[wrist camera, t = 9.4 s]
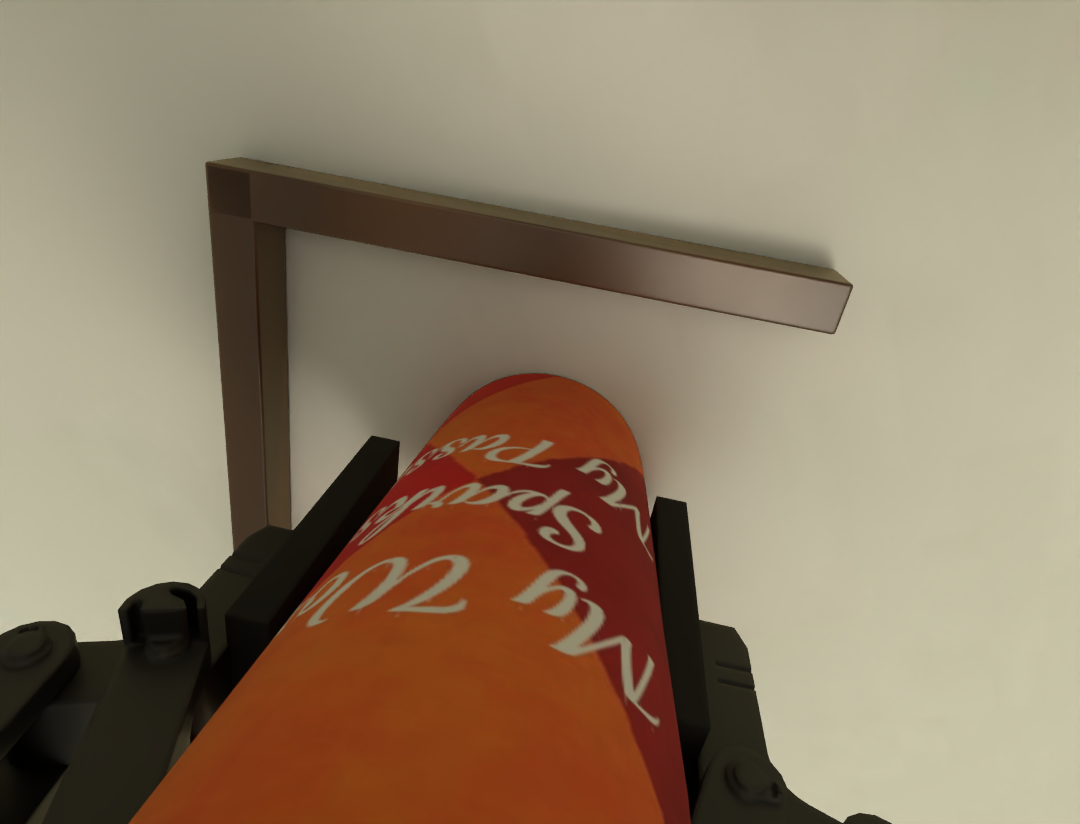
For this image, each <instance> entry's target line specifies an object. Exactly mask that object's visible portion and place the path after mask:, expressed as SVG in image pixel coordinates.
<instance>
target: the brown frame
mask: <svg viewBox="0 0 1080 824" xmlns="http://www.w3.org/2000/svg"><path fill="white" fill-rule="evenodd" d="M205 165H206V179H207V193H208V207H209V217H210V231H211V245H212V258H213V272H214V286H215V300H216V314H217V328H218V341H219V355H220V369H221V383H222V397H223V410H224V424H225V438H226V452H227V466H228V479H229V493H230V507H231V521H232V535H233V549H234V551H235V550H236V549H237V548H238V546H239V545H240V544H241V543H242V542H243V541H244V540H245V539H246V538H247V537H248V536H250V535H252V534H253V533H255V532H257V531H259V530H261V529H262V528H264V527H266V526H268V525H271V526H276V527H280V528H285V529H289V530H291V514H290V467H289V420H288V373H287V326H286V279H285V232H284V228H289V229H294V230H299V231H305V232H310V233H315V234H320V235H325V236H330V237H335V238H340V239H346V240H351V241H356V242H361V243H366V244H371V245H376V246H381V247H387V248H392V249H397V250H402V251H407V252H412V253H417V254H422V255H428V256H433V257H438V258H443V259H448V260H453V261H458V262H463V263H469V264H474V265H479V266H484V267H489V268H494V269H499V270H504V271H510V272H515V273H520V274H525V275H530V276H535V277H540V278H546V279H551V280H556V281H561V282H566V283H571V284H576V285H581V286H587V287H592V288H597V289H602V290H607V291H612V292H617V293H622V294H628V295H633V296H638V297H643V298H648V299H653V300H658V301H663V302H669V303H674V304H679V305H684V306H689V307H694V308H699V309H704V310H710V311H715V312H720V313H725V314H730V315H735V316H740V317H746V318H751V319H756V320H761V321H766V322H771V323H776V324H781V325H787V326H792V327H797V328H802V329H807V330H812V331H817V332H822V333H828V334H834V333H835V332H836V330H837V327H838V324H839V322H840V319H841V317H842V314H843V311H844V309H845V306H846V304H847V301H848V299H849V296H850V293H851V291H852V288H853V285H852V284H851V283H850V282H849V281H847V280H846V279H845V278H844V277H843V276H841V275H840V274H839V273H838V272H837V271H835V270H833V269H828V268H822V267H817V266H812V265H806V264H801V263H796V262H791V261H785V260H780V259H775V258H769V257H764V256H759V255H754V254H748V253H743V252H738V251H732V250H727V249H722V248H717V247H711V246H706V245H701V244H695V243H690V242H685V241H680V240H674V239H669V238H664V237H658V236H653V235H648V234H643V233H637V232H632V231H627V230H621V229H616V228H611V227H606V226H600V225H595V224H590V223H584V222H579V221H574V220H569V219H563V218H558V217H553V216H547V215H542V214H537V213H532V212H526V211H521V210H516V209H510V208H505V207H500V206H495V205H489V204H484V203H479V202H473V201H468V200H463V199H458V198H452V197H447V196H442V195H436V194H431V193H426V192H421V191H415V190H410V189H405V188H399V187H394V186H389V185H384V184H378V183H373V182H368V181H362V180H357V179H352V178H347V177H341V176H336V175H331V174H325V173H320V172H315V171H310V170H304V169H299V168H294V167H288V166H283V165H278V164H273V163H267V162H262V161H257V160H251V159H246V158H233V159H225V160H217V161H209V162H206V164H205Z"/></svg>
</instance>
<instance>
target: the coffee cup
mask: <svg viewBox="0 0 1080 824" xmlns="http://www.w3.org/2000/svg"><path fill="white" fill-rule="evenodd" d="M128 824H691V819H690V810H689V801H688V793H687V786H686V779H685V772H684V765H683V759H682V752H681V745H680V738H679V731H678V725H677V718H676V711H675V704H674V697H673V691H672V684H671V677H670V670H669V663H668V657H667V650H666V643H665V636H664V629H663V621H662V613H661V605H660V596H659V588H658V579H657V570H656V562H655V554H654V546H653V538H652V531H651V523H650V516H649V508H648V501H647V494H646V488H645V481H644V475H643V469H642V463H641V459H640V454H639V451H638V447H637V444H636V441H635V439H634V436H633V434H632V432H631V430H630V428H629V426H628V424H627V423H626V421H625V420H624V418H623V417H622V416H621V414H620V413H619V412H618V411H617V410H616V409H615V407H614V406H613V405H612V404H611V403H609V402H608V401H607V400H606V399H605V398H604V397H602V396H601V395H600V394H598V393H597V392H595V391H594V390H592V389H590V388H588V387H587V386H585V385H582V384H580V383H578V382H576V381H573V380H570V379H567V378H564V377H559V376H555V375H548V374H520V375H513V376H509V377H505V378H502V379H499V380H496V381H494V382H491V383H489V384H487V385H485V386H484V387H482V388H480V389H479V390H477V391H476V392H475V393H473V394H472V395H470V396H469V397H468V398H467V399H466V400H465V401H464V402H463V403H462V404H461V405H460V406H459V407H458V408H457V409H456V410H455V411H454V412H453V413H452V414H451V415H450V417H449V418H448V419H447V420H446V421H445V422H444V424H443V425H442V426H441V427H440V428H439V430H438V431H437V432H436V433H435V434H434V436H433V437H432V438H431V439H430V441H429V442H428V443H427V444H426V446H425V447H424V448H423V449H422V451H421V452H420V453H419V454H418V456H417V457H416V458H415V459H414V461H413V462H412V463H411V464H410V466H409V467H408V468H407V469H406V471H405V472H404V473H403V474H402V476H401V477H400V478H399V479H398V481H397V482H396V483H395V484H394V486H393V487H392V488H391V489H390V491H389V492H388V493H387V494H386V496H385V497H384V498H383V500H382V501H381V502H380V503H379V505H378V506H377V507H376V508H375V510H374V511H373V512H372V513H371V515H370V516H369V517H368V519H367V520H366V521H365V522H364V524H363V525H362V526H361V527H360V529H359V530H358V531H357V532H356V534H355V535H354V536H353V538H352V539H351V540H350V541H349V543H348V544H347V545H346V546H345V548H344V549H343V550H342V552H341V553H340V554H339V555H338V557H337V558H336V559H335V560H334V562H333V563H332V564H331V566H330V567H329V568H328V569H327V571H326V572H325V573H324V575H323V576H322V577H321V578H320V580H319V581H318V582H317V583H316V585H315V586H314V587H313V589H312V590H311V591H310V592H309V594H308V595H307V596H306V598H305V599H304V600H303V601H302V603H301V604H300V605H299V606H298V608H297V609H296V610H295V612H294V613H293V614H292V615H291V617H290V618H289V619H288V621H287V622H286V623H285V624H284V626H283V627H282V628H281V629H280V631H279V632H278V633H277V635H276V636H275V637H274V638H273V640H272V641H271V642H270V644H269V645H268V646H267V647H266V649H265V650H264V651H263V652H262V654H261V655H260V656H259V658H258V659H257V660H256V661H255V663H254V664H253V665H252V667H251V668H250V669H249V670H248V672H247V673H246V674H245V675H244V677H243V678H242V679H241V681H240V682H239V683H238V684H237V686H236V687H235V688H234V689H233V691H232V692H231V693H230V695H229V696H228V697H227V698H226V700H225V701H224V702H223V704H222V705H221V706H220V707H219V709H218V710H217V711H216V712H215V714H214V715H213V716H212V718H211V719H210V720H209V721H208V723H207V724H206V725H205V726H204V728H203V729H202V730H201V732H200V733H199V734H198V735H197V737H196V738H195V739H194V740H193V742H192V743H191V744H190V746H189V747H188V748H187V749H186V751H185V752H184V753H183V755H182V756H181V757H180V758H179V760H178V761H177V762H176V763H175V765H174V766H173V767H172V769H171V770H170V771H169V772H168V774H167V775H166V776H165V777H164V779H163V780H162V781H161V783H160V784H159V785H158V786H157V788H156V789H155V790H154V792H153V793H152V794H151V795H150V797H149V798H148V799H147V800H146V802H145V803H144V804H143V806H142V807H141V808H140V809H139V811H138V812H137V813H136V814H135V816H134V817H133V818H132V820H131V821H130V822H129V823H128Z"/></svg>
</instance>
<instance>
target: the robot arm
mask: <svg viewBox="0 0 1080 824" xmlns="http://www.w3.org/2000/svg"><path fill="white" fill-rule="evenodd" d="M399 447H400V441H396V440H391V439H386V438H382V437H377V436H371V437H370V438H369V439H368V441H367V442H366V443H365V444H364V445H363V447H362V448H361V449H360V450H359V452H358V453H357V454H356V455H355V456H354V458H353V459H352V460H351V461H350V462H349V464H348V465H347V466H346V467H345V469H344V470H343V471H342V472H341V473H340V475H339V476H338V477H337V478H336V480H335V481H334V482H333V483H332V484H331V486H330V487H329V488H328V489H327V490H326V492H325V493H324V494H323V495H322V497H321V498H320V499H319V500H318V501H317V503H316V504H315V505H314V506H313V507H312V509H311V510H310V511H309V512H308V514H307V515H306V516H305V517H304V518H303V520H302V521H301V522H300V523H299V524H298V526H297V527H296V528H295V529H294V530H289V529H285V528H280V527H276V526H271V525H268V526H266V527H264V528H262V529H261V530H259V531H257V532H255V533H253V534H252V535H250V536H248V537H247V538H246V539H245V540H244V541H243V542H242V543H241V544H240V545H239V546H238V548H237V549H236V550H235V551H234V552H233V554H232V556H229V557H228V558H227V560H226V561H225V562H224V563H223V564H222V565H221V568H220V569H217V570H216V572H215V573H214V574H213V575H212V576H211V577H210V578H209V579H208V580H207V581H206V582H205V584H204V585H203V586H202V587H201V588H200V589H199V588H197V587H195V586H193V585H191V584H189V583H181V582H168V583H160V584H155V585H153V586H150V587H147V588H144V589H142V590H140V591H138V592H137V593H135V594H134V595H132V596H131V597H129V598H128V599H126V601H125V602H124V603H123V604H122V605H121V607H120V608H119V609H118V614H119V619H120V624H121V630H122V635H123V640H118V641H98V642H77V640H76V636H75V633H74V632H73V631H72V629H71V628H70V627H69V626H68V625H65V624H62V623H59V622H56V621H38V622H34V623H29V624H25V625H21V626H18V627H16V628H14V629H12V630H9V631H7V632H5V633H3V634H1V635H0V824H128V823H129V822H130V821H131V820H132V818H133V817H134V816H135V814H136V813H137V812H138V811H139V809H140V808H141V807H142V806H143V804H144V803H145V802H146V800H147V799H148V798H149V797H150V795H151V794H152V793H153V792H154V790H155V789H156V788H157V786H158V785H159V784H160V783H161V781H162V780H163V779H164V777H165V776H166V775H167V774H168V772H169V771H170V770H171V769H172V767H173V766H174V765H175V763H176V762H177V761H178V760H179V758H180V757H181V756H182V755H183V753H184V752H185V751H186V749H187V748H188V747H189V746H190V744H191V743H192V742H193V740H194V739H195V738H196V737H197V735H198V734H199V733H200V732H201V730H202V729H203V728H204V726H205V725H206V724H207V723H208V721H209V720H210V719H211V718H212V716H213V715H214V714H215V712H216V711H217V710H218V709H219V707H220V706H221V705H222V704H223V702H224V701H225V700H226V698H227V697H228V696H229V695H230V693H231V692H232V691H233V689H234V688H235V687H236V686H237V684H238V683H239V682H240V681H241V679H242V678H243V677H244V675H245V674H246V673H247V672H248V670H249V669H250V668H251V667H252V665H253V664H254V663H255V661H256V660H257V659H258V658H259V656H260V655H261V654H262V652H263V651H264V650H265V649H266V647H267V646H268V645H269V644H270V642H271V641H272V640H273V638H274V637H275V636H276V635H277V633H278V632H279V631H280V629H281V628H282V627H283V626H284V624H285V623H286V622H287V621H288V619H289V618H290V617H291V615H292V614H293V613H294V612H295V610H296V609H297V608H298V606H299V605H300V604H301V603H302V601H303V600H304V599H305V598H306V596H307V595H308V594H309V592H310V591H311V590H312V589H313V587H314V586H315V585H316V583H317V582H318V581H319V580H320V578H321V577H322V576H323V575H324V573H325V572H326V571H327V569H328V568H329V567H330V566H331V564H332V563H333V562H334V560H335V559H336V558H337V557H338V555H339V554H340V553H341V552H342V550H343V549H344V548H345V546H346V545H347V544H348V543H349V541H350V540H351V539H352V538H353V536H354V535H355V534H356V532H357V531H358V530H359V529H360V527H361V526H362V525H363V524H364V522H365V521H366V520H367V519H368V517H369V516H370V515H371V513H372V512H373V511H374V510H375V508H376V507H377V506H378V505H379V503H380V502H381V501H382V500H383V498H384V497H385V496H386V494H387V493H388V492H389V491H390V489H391V488H392V487H393V486H394V484H395V483H396V482H397V477H398V462H399ZM650 523H651V531H652V538H653V546H654V554H655V562H656V570H657V579H658V588H659V596H660V605H661V613H662V621H663V629H664V636H665V643H666V650H667V657H668V663H669V670H670V677H671V684H672V691H673V697H674V704H675V711H676V718H677V725H678V731H679V738H680V745H681V752H682V759H683V765H684V772H685V779H686V786H687V793H688V801H689V810H690V819H691V824H892V823H890V822H888V821H886V820H884V819H882V818H879V817H877V816H875V815H870V814H863V813H858V814H855V815H852V816H849V817H847V819H846V820H845V822H844V823H841V822H839V821H837V820H836V819H834V818H832V817H830V816H828V815H826V814H825V813H823V812H821V811H819V810H817V809H816V808H814V807H812V806H810V805H808V804H807V803H805V802H804V801H802V800H801V799H799V798H798V797H797V796H795V795H794V794H793V793H792V792H791V791H790V790H789V789H788V788H787V787H786V784H785V782H784V780H783V778H782V775H781V774H780V773H779V772H778V770H777V769H776V768H775V767H774V766H773V764H772V763H771V762H770V760H769V757H768V753H767V748H766V743H765V738H764V732H763V727H762V722H761V717H760V711H759V706H758V701H757V696H756V691H754V687H755V685H754V680H753V675H752V673H751V664H750V659H749V654H748V649H747V647H746V645H745V644H744V642H743V641H742V639H741V638H740V636H739V634H738V633H737V631H736V630H735V628H733V627H728V626H724V625H719V624H715V623H710V622H706V621H702V620H699V615H698V606H697V596H696V587H695V578H694V569H693V559H692V550H691V541H690V531H689V522H688V513H687V504H686V502H681V501H677V500H672V499H667V498H663V497H658V496H657V497H656V500H655V504H654V507H653V511H652V514H651V518H650Z"/></svg>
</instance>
